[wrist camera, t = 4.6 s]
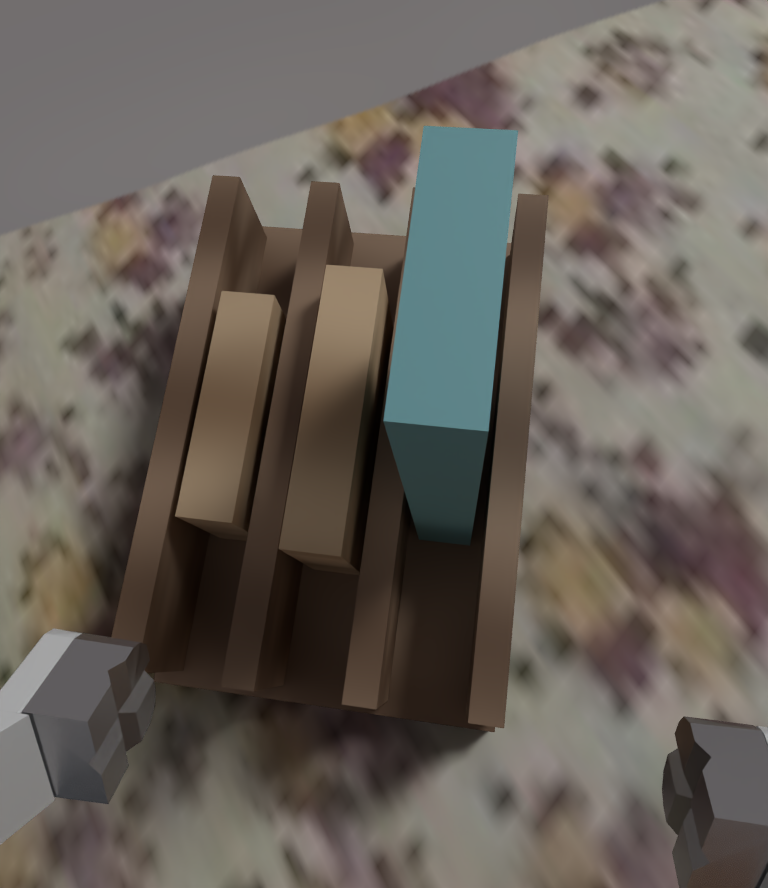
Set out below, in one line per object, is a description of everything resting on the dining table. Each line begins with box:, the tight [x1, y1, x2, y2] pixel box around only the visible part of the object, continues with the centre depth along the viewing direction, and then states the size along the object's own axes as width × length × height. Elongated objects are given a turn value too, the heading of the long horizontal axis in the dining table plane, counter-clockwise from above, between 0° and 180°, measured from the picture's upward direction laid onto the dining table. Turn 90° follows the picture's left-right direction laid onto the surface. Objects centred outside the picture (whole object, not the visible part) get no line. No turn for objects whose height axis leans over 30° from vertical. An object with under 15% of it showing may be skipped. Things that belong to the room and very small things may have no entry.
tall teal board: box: [383, 126, 518, 546], centre depth 20 cm, size 6×2×14 cm, turn 173°
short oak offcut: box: [279, 265, 394, 575], centre depth 25 cm, size 9×2×6 cm, turn 173°
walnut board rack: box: [111, 175, 548, 732], centre depth 26 cm, size 18×12×6 cm, turn 173°
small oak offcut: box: [175, 291, 286, 541], centre depth 25 cm, size 8×2×4 cm, turn 173°
